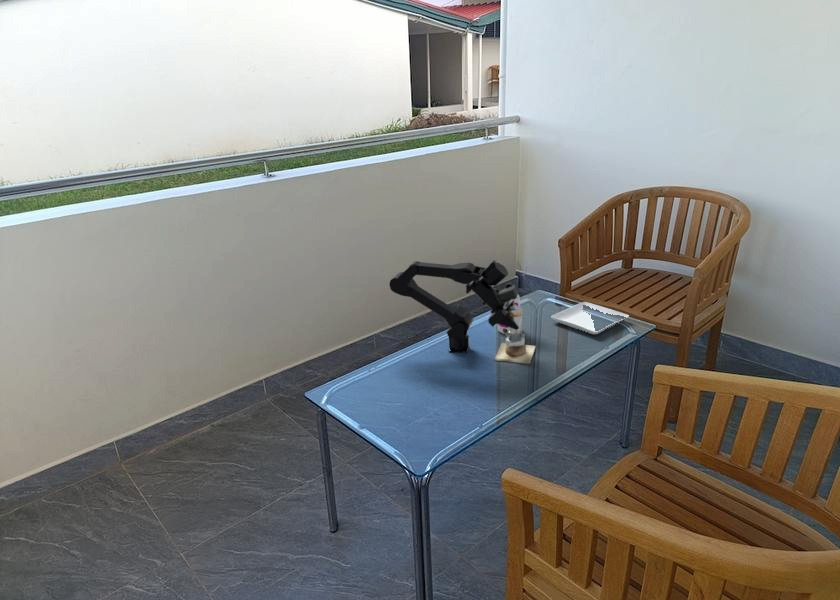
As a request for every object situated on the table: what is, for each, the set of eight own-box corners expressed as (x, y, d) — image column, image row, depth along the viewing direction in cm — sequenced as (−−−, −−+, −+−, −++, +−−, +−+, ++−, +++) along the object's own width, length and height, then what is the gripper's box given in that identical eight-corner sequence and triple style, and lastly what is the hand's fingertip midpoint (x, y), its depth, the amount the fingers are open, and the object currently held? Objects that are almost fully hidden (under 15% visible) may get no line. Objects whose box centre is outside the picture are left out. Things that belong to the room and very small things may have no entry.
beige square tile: (494, 360, 205) (494, 352, 204) (502, 344, 216) (501, 337, 214) (530, 363, 201) (530, 355, 200) (535, 347, 212) (535, 340, 211)
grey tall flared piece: (503, 346, 205) (503, 311, 200) (507, 337, 211) (507, 303, 206) (523, 347, 203) (523, 312, 198) (526, 339, 209) (526, 305, 204)
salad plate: (583, 307, 242) (583, 300, 241) (630, 322, 227) (630, 314, 225) (549, 323, 230) (549, 315, 229) (596, 340, 215) (596, 332, 213)
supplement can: (521, 334, 222) (521, 297, 217) (498, 335, 223) (498, 298, 217) (518, 325, 230) (518, 289, 224) (496, 326, 230) (496, 290, 224)
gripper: (497, 288, 191) (532, 323, 192) (509, 269, 207) (540, 301, 208) (474, 309, 197) (507, 343, 197) (487, 289, 213) (517, 320, 214)
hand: (519, 325), depth 204 cm, fingers closed on grey tall flared piece, 4 cm apart
